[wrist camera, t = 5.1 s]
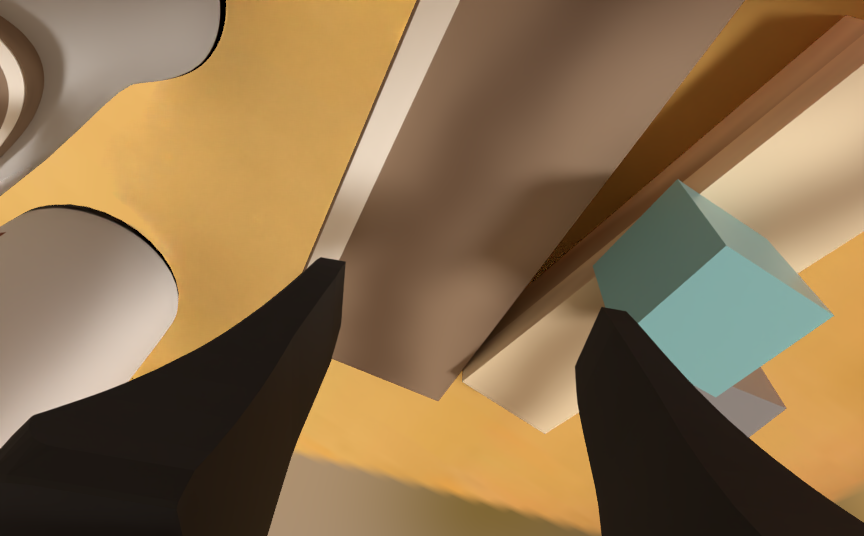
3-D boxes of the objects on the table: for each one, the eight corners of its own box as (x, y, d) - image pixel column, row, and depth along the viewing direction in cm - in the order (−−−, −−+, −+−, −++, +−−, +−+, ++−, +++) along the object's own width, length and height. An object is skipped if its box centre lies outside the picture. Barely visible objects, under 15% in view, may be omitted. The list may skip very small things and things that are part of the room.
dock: (750, -54, 15) (785, -51, 13) (441, 370, 26) (438, 402, 24) (510, -215, 13) (514, -234, 12) (289, 307, 24) (274, 337, 22)
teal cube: (766, 238, 17) (834, 315, 14) (676, 315, 19) (715, 397, 16) (677, 178, 16) (726, 245, 13) (592, 266, 18) (616, 342, 15)
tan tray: (920, 116, 17) (993, 148, 15) (539, 385, 26) (544, 433, 24) (840, 13, 16) (905, 30, 13) (464, 335, 25) (462, 381, 22)
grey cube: (667, 306, 22) (742, 338, 23) (614, 365, 24) (683, 392, 25) (700, 373, 19) (786, 408, 20) (635, 434, 21) (714, 463, 22)
